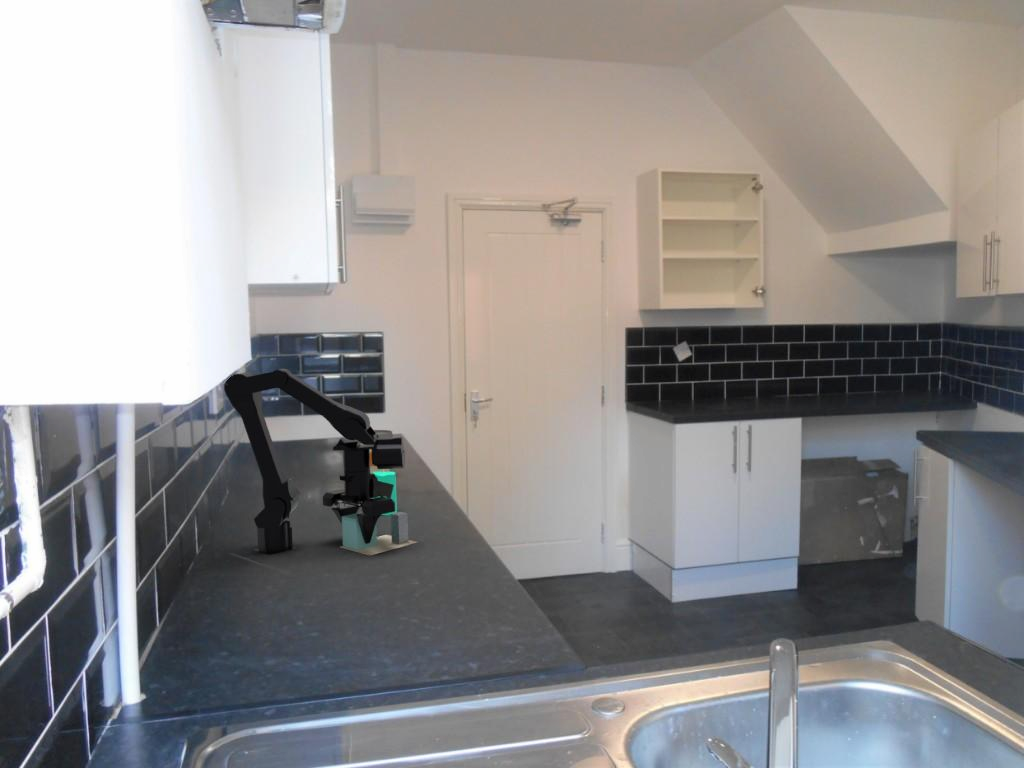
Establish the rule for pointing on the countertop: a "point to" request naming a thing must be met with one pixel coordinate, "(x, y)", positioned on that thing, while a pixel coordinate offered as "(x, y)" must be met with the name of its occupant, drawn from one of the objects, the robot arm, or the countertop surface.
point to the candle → (391, 479)
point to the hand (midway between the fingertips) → (359, 541)
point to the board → (381, 546)
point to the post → (399, 527)
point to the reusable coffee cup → (382, 435)
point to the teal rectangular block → (355, 533)
